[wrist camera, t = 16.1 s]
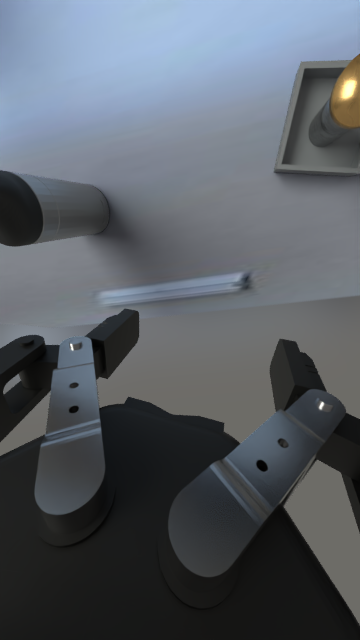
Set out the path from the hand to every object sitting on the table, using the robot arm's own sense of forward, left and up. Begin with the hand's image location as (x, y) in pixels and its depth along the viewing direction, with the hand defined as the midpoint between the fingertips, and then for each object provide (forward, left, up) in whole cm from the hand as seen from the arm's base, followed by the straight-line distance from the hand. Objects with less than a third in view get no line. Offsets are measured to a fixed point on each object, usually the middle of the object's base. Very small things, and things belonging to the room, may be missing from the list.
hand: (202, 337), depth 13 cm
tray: (+10, +18, -34) cm, 40 cm away
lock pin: (+10, +18, -34) cm, 39 cm away
